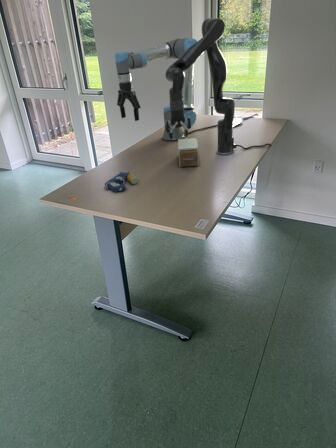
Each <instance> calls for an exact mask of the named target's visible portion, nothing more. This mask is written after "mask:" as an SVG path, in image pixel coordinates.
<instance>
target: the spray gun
mask: <svg viewBox="0 0 336 448" xmlns="http://www.w3.org/2000/svg"><path fill="white" fill-rule="evenodd" d="M126 181H128V182H129V183H131V184H132V185H136V184H138V182H139V179H138V177H137V176H136V175H134V174H133V173H130V171H129V170H126V171H119V172H118V173H116V174H115V175H114V176H113V177H111V178H109V180H108V181H106V182H105V183H104V185H103V188H104V189H106V190H111V191H113V192H114V193H116V192H122V191H124V190H125V189H126V187H127V184H126Z"/></svg>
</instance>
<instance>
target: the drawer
mask: <svg viewBox="0 0 336 448" xmlns="http://www.w3.org/2000/svg"><path fill="white" fill-rule="evenodd" d="M179 154H180V166H184V167H197V166H196V165H198V154H199V150H198V151H197V150H181V151H179V153H178V155H179Z"/></svg>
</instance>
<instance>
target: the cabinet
mask: <svg viewBox="0 0 336 448" xmlns="http://www.w3.org/2000/svg"><path fill="white" fill-rule="evenodd" d="M181 150H197V151H198V152H199V143H198V138H197V137H191V138H190V137H189V138H182V139H178V140H177V153H178V167H179V168H180V167H181V168H182V167H185V166H180V154H179V151H181ZM199 155H200V154H199V153H198V165H196V166H195V167H197V166H199V165H200V160H199V159H200V157H199Z"/></svg>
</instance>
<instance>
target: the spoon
mask: <svg viewBox="0 0 336 448" xmlns="http://www.w3.org/2000/svg"><path fill="white" fill-rule="evenodd" d="M242 119H243V118H240V117H234V121H233V128H234V127H236V126H238V125H240V124H241V123H242V122H243V120H242Z"/></svg>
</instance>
